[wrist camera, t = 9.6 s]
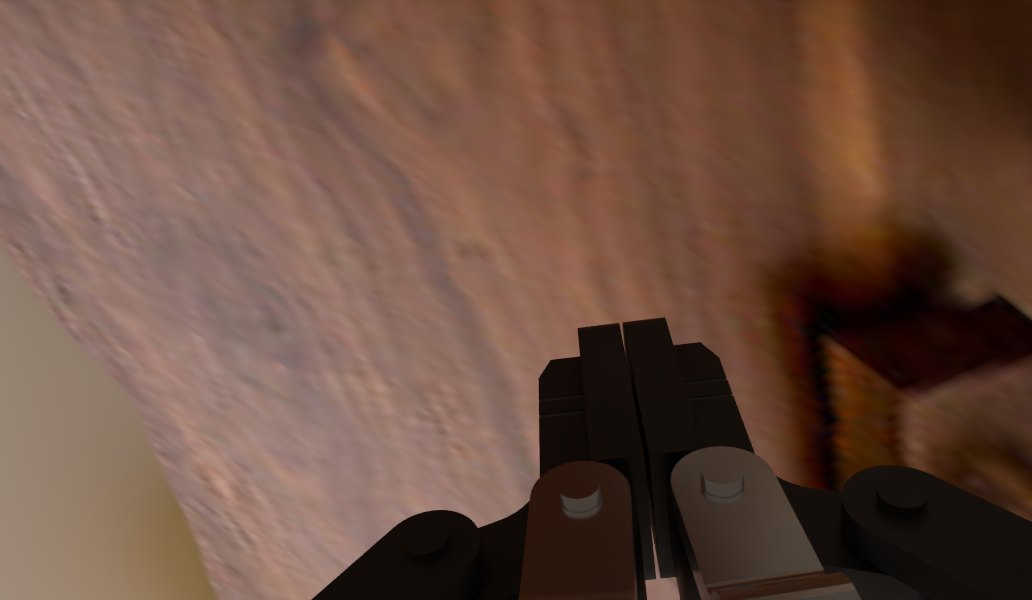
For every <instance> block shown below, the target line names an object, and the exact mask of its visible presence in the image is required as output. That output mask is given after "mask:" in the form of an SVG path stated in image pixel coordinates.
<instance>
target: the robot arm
mask: <svg viewBox="0 0 1032 600" xmlns="http://www.w3.org/2000/svg"><path fill="white" fill-rule="evenodd" d="M623 336H624V346H625V351H624V346H623V340H622V335H621V330H620V325H619V323H615V324H607V325H599V326H591V327H582V328H578V338H579V348H580V357H572V358H564V359H555V360H550V362H549V363H548V365H547V366H546V368H545V370H544V371H543V373H542V374H541V376H540V377H539V417H540V418H539V442H540V478H539V479H538V481H537V482H536V483H535V484H534V486H533V489H532V491H531V495H530V501H529V502H528V503H527V504H526V505H525V506H524V507H522V508H521V509H520V510H518V511H517V512H516V513H514V514H512V515H510V516H508V517H506V518H504V519H502V520H499V521H496V522H494V523H491V524H488V525H485V526H483V527H480V528H477V526H476V525H475V523H474V522H473V521H472V520H471V519H470V518H468V517H466V516H465V515H463V514H460V513H458V512H454V511H449V510H433V511H428V512H423V513H420V514H417V515H414V516H412V517H409V518H407V519H406V520H404V521H402V522H401V523H399V524H398V525H396V526H395V527H394V528H393V529H392V530H390V531H389V532H388V533H387V534H386V535H385V536H384V537H382V538H381V539H380V540H379V541H378V542H377V543H376V544H374V545H373V546H372V547H371V548H370V549H369V550H368V551H366V552H365V553H364V554H363V555H362V556H361V557H360V558H358V559H357V560H356V561H355V562H354V563H353V564H352V565H350V566H349V567H348V568H347V569H346V570H345V571H344V572H342V573H341V574H340V575H339V576H338V577H337V578H336V579H334V580H333V581H332V582H331V583H330V584H329V585H328V586H326V587H325V588H324V589H323V590H322V591H321V592H320V593H318V594H317V595H316V596H315V597H314V598H313V599H312V600H647V594H646V585H645V580H650V579H656V573H655V563H654V553H653V542H652V533H653V539H654V544H655V550H656V555H657V561H658V567H659V572H660V578H669V577H676V579H677V584H678V589H679V594H680V600H1032V522H1031V521H1029V520H1026V519H1024V518H1022V517H1020V516H1018V515H1016V514H1014V513H1012V512H1009V511H1007V510H1005V509H1003V508H1001V507H999V506H997V505H995V504H992V503H990V502H988V501H986V500H984V499H982V498H980V497H978V496H975V495H973V494H971V493H969V492H967V491H965V490H963V489H961V488H958V487H956V486H954V485H952V484H950V483H948V482H946V481H944V480H941V479H939V478H937V477H935V476H933V475H931V474H928V473H926V472H923V471H920V470H917V469H913V468H909V467H903V466H892V465H891V466H877V467H871V468H868V469H864V470H862V471H860V472H858V473H856V474H855V475H853V476H852V477H851V478H850V479H849V480H848V481H847V482H846V484H845V485H844V487H843V491H842V492H838V491H830V490H822V489H814V488H808V487H803V486H799V485H796V484H792V483H790V482H787V481H785V480H782V479H781V478H779V477H777V476H775V474H774V472H773V470H772V469H771V467H770V466H769V465H768V464H767V463H766V462H765V461H764V460H763V459H762V458H760V457H759V456H757V455H755V453H754V450H753V447H752V445H751V442H750V439H749V437H748V434H747V431H746V429H745V426H744V423H743V421H742V418H741V415H740V413H739V410H738V407H737V404H736V402H735V399H734V396H732V391H731V388H730V386H729V383H728V380H726V375H725V372H724V370H723V367H722V364H721V362H720V359H719V357H718V356H716V355H715V354H714V353H713V352H712V351H710V350H709V349H708V348H707V347H705V346H704V345H703V344H702V343H700V342H698V343H689V344H681V345H673V342H672V339H671V336H670V332H669V329H668V325H667V322H666V319H665V317H664V318H655V319H647V320H639V321H631V322H623ZM625 355H626V356H625ZM651 527H652V532H651Z"/></svg>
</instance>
